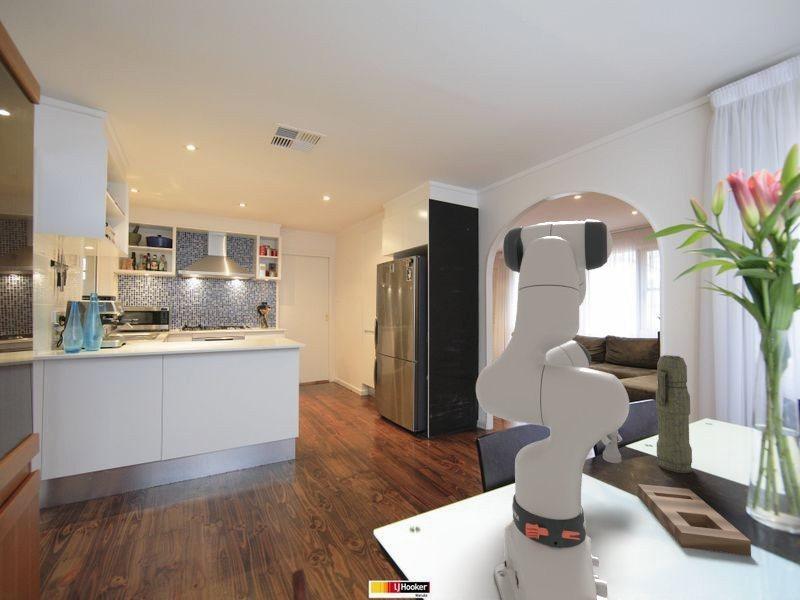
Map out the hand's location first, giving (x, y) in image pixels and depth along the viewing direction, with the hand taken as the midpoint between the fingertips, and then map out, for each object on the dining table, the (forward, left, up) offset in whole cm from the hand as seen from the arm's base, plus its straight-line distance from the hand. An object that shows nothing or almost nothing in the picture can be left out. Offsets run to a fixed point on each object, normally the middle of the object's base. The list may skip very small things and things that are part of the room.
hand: (614, 442), depth 95 cm
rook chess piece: (0, 0, -5) cm, 5 cm away
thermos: (+27, -26, -15) cm, 40 cm away
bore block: (-7, -13, -15) cm, 21 cm away
